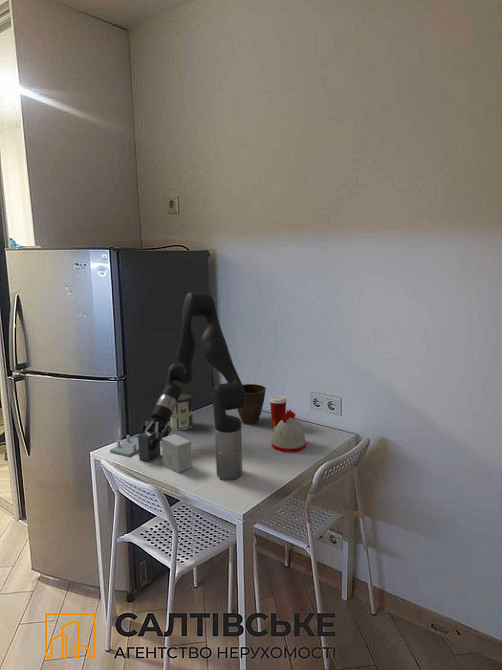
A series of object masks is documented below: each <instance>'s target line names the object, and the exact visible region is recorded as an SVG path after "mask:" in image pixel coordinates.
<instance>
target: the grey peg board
mask: <svg viewBox="0 0 502 670" xmlns="http://www.w3.org/2000/svg"><path fill="white" fill-rule="evenodd" d="M116 443H117V445H116V446H114V447H113V448H111V449H109V452H110V453H111V454H116V455H120V456H124V457H127V458H128V457H129V458H130V457H132V456H133V455H135V454H137V453H139V444H138V437H132V438H131V437H130V435H129V434H127V435H126V441H124V442H121V440H120V439H117V440H116Z"/></svg>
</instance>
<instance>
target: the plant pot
mask: <svg viewBox="0 0 502 670" xmlns="http://www.w3.org/2000/svg"><path fill="white" fill-rule="evenodd" d="M242 385H243V388H244V391H245V395H246V404H245V406H244V407H242V408H238V409H237V411H238V415H239V419H240V420H241V423H243V424H245V425H254V424H257V423H258V422H259V419H260V415H261V414H262V410H263V406H264V402H265V397H266V389H267V388H266V387H265V386H263V385H260V384H255V383H246V384H245V383H243V384H242Z"/></svg>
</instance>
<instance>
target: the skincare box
mask: <svg viewBox="0 0 502 670" xmlns="http://www.w3.org/2000/svg"><path fill="white" fill-rule="evenodd" d="M161 453H162V454H161V455H162V456H161V458H162V459H161V460H162V465H163V466H165V467H167V468H168V469H170V470H172V471H174V472H176V473H178V474H179V473H181V472H182V473H183V472H185V471H187V470H189V469H192V467H193V465H192V462H193V461H192V441H191V440H188V439H186V438H184V437H182V436H179V435H178V434H175V433H174V434H171V435H168V436H167V437H164V438H162V441H161Z"/></svg>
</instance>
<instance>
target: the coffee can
mask: <svg viewBox="0 0 502 670" xmlns="http://www.w3.org/2000/svg"><path fill="white" fill-rule="evenodd" d="M192 399H193V396H192V394H189V393H185V392H183V393H182V392H181V394H180V396H179V399H178V401H177V403H176V407H175V409H174V411H173V414H172V416H171V418H170V420H169V422H170V427H171V428H172V430H175V431H186V430H189V429H191V428H193V427H194V422H193V420H194V419H193V400H192Z"/></svg>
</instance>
